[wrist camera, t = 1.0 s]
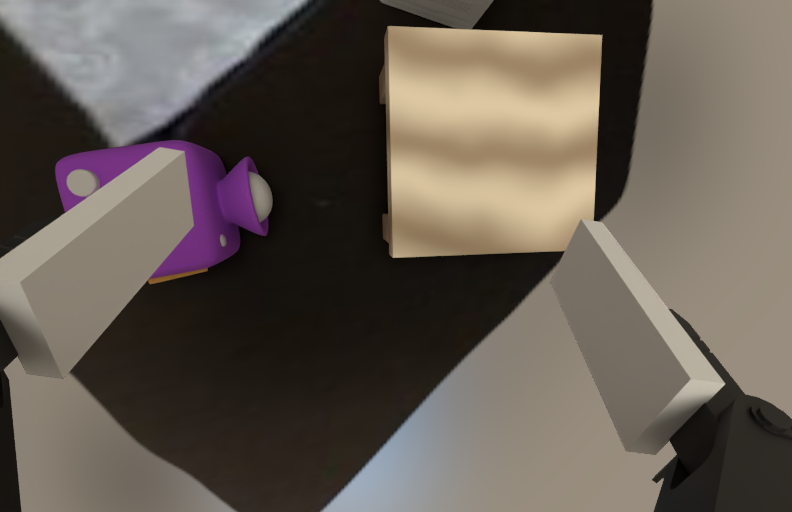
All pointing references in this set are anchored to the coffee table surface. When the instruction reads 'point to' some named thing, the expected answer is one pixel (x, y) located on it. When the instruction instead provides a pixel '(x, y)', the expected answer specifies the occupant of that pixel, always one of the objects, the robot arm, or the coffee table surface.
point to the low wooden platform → (488, 139)
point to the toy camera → (209, 191)
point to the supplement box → (445, 10)
